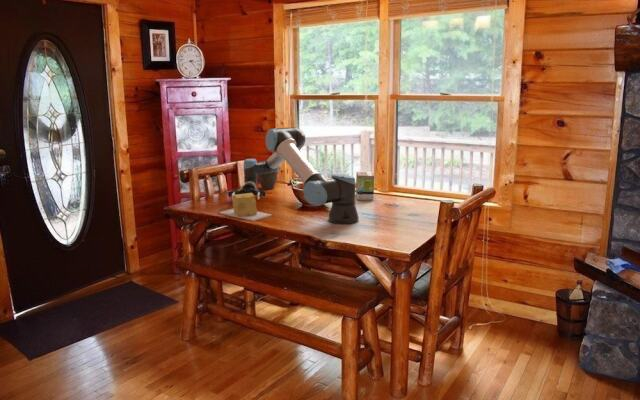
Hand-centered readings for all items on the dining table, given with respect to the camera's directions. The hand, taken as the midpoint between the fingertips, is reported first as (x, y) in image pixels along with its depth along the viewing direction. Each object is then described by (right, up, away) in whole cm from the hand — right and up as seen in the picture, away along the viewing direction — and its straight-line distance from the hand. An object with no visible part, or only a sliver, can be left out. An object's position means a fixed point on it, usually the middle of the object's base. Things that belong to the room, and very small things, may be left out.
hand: (245, 197), depth 276 cm
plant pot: (+6, +6, +63) cm, 63 cm away
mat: (0, -9, -2) cm, 9 cm away
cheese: (0, -9, -3) cm, 9 cm away
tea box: (+67, 0, +36) cm, 76 cm away
